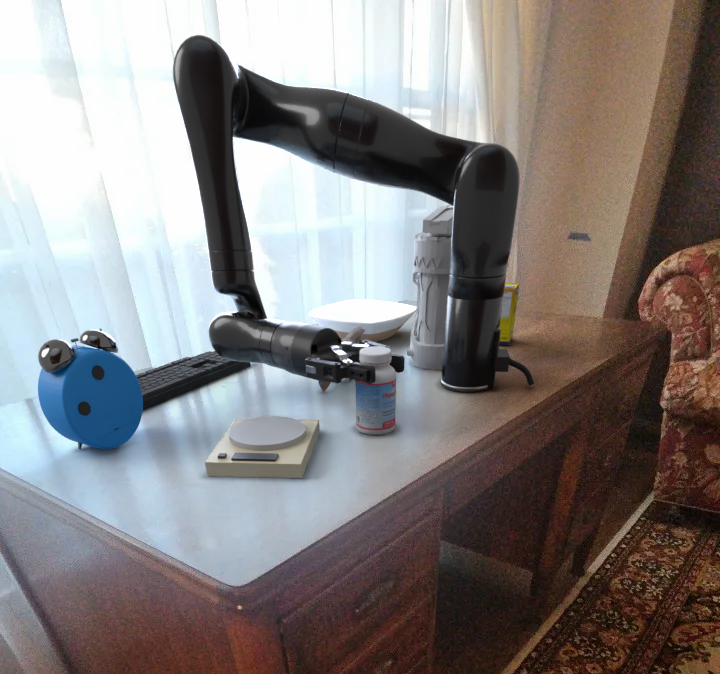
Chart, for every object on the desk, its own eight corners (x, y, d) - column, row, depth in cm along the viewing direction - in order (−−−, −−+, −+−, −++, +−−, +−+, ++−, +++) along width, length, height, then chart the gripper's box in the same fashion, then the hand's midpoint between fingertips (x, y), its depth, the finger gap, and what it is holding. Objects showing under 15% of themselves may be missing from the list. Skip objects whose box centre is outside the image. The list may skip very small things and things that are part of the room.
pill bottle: (391, 437, 86) (393, 357, 79) (352, 435, 87) (350, 355, 80) (398, 422, 91) (399, 345, 83) (360, 420, 92) (358, 344, 84)
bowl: (353, 320, 144) (353, 296, 140) (428, 331, 134) (429, 306, 130) (297, 339, 130) (295, 313, 127) (375, 353, 121) (375, 325, 117)
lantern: (449, 373, 110) (462, 210, 93) (400, 366, 114) (405, 209, 97) (474, 356, 118) (490, 204, 102) (428, 350, 122) (436, 203, 106)
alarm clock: (128, 426, 92) (98, 321, 82) (155, 433, 89) (127, 326, 79) (57, 455, 83) (14, 343, 73) (85, 464, 81) (44, 349, 71)
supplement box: (512, 339, 127) (520, 282, 120) (508, 346, 123) (516, 287, 116) (485, 337, 129) (492, 281, 122) (481, 344, 125) (487, 286, 117)
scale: (319, 432, 88) (318, 414, 86) (302, 478, 76) (300, 458, 74) (237, 431, 89) (234, 413, 87) (207, 476, 77) (203, 456, 75)
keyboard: (210, 357, 121) (208, 347, 119) (252, 365, 116) (250, 354, 115) (69, 410, 98) (65, 398, 97) (114, 421, 93) (111, 408, 92)
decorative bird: (309, 391, 103) (305, 345, 98) (348, 367, 114) (347, 324, 109) (335, 395, 101) (333, 348, 96) (373, 369, 112) (373, 327, 107)
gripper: (269, 333, 84) (354, 352, 75) (336, 315, 92) (420, 331, 83) (275, 387, 89) (356, 410, 80) (338, 365, 97) (418, 384, 88)
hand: (388, 370), depth 82 cm, fingers closed on pill bottle, 6 cm apart
